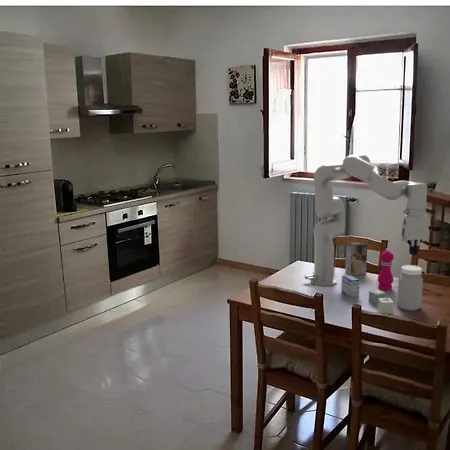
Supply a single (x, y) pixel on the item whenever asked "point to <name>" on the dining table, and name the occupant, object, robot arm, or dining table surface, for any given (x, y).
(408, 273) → the jar
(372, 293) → the slate block
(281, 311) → the dining table surface
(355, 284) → the medicine box
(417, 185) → the robot arm
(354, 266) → the coffee box
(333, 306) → the dining table surface
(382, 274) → the pepper mill
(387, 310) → the sage block
